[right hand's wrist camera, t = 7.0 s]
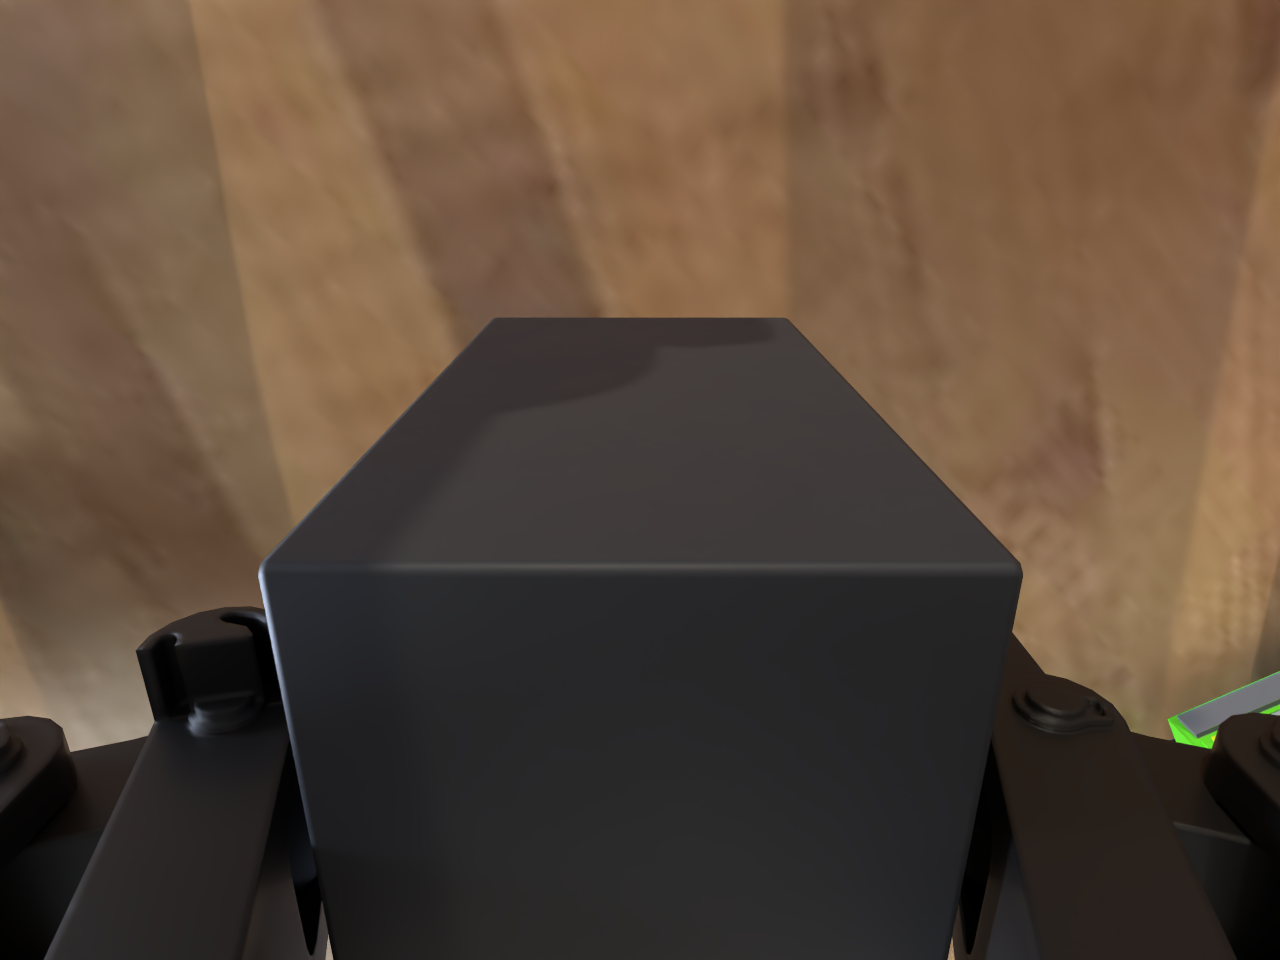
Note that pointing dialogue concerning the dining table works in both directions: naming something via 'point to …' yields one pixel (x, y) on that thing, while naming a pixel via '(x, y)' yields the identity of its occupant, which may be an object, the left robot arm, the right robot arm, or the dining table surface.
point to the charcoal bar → (640, 659)
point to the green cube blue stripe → (1226, 711)
